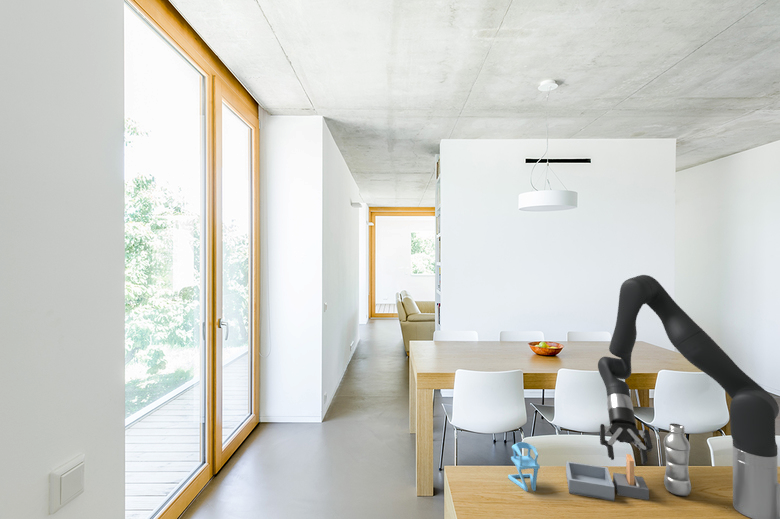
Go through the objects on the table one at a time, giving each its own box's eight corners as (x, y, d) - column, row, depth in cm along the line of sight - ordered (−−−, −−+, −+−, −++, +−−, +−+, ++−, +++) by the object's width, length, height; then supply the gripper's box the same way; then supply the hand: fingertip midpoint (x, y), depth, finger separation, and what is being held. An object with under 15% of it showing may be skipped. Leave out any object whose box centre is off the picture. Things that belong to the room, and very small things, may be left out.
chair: (518, 492, 122) (518, 452, 122) (507, 477, 130) (507, 440, 130) (543, 490, 123) (543, 451, 123) (530, 476, 131) (531, 439, 131)
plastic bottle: (695, 500, 118) (695, 431, 118) (669, 497, 119) (669, 429, 119) (684, 488, 124) (684, 422, 124) (659, 485, 125) (659, 420, 126)
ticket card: (630, 487, 125) (630, 454, 125) (634, 495, 120) (634, 461, 120) (626, 486, 125) (626, 453, 125) (629, 494, 121) (629, 460, 121)
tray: (607, 480, 129) (607, 467, 129) (614, 500, 117) (614, 487, 117) (566, 473, 133) (566, 461, 133) (569, 493, 121) (569, 479, 121)
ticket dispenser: (642, 486, 125) (642, 474, 125) (649, 500, 118) (648, 487, 118) (613, 482, 128) (613, 470, 128) (617, 495, 120) (617, 482, 120)
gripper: (598, 403, 136) (603, 452, 125) (647, 408, 131) (657, 460, 120) (596, 413, 141) (601, 462, 130) (643, 419, 136) (652, 470, 125)
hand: (628, 461), depth 125 cm, fingers open, 8 cm apart
